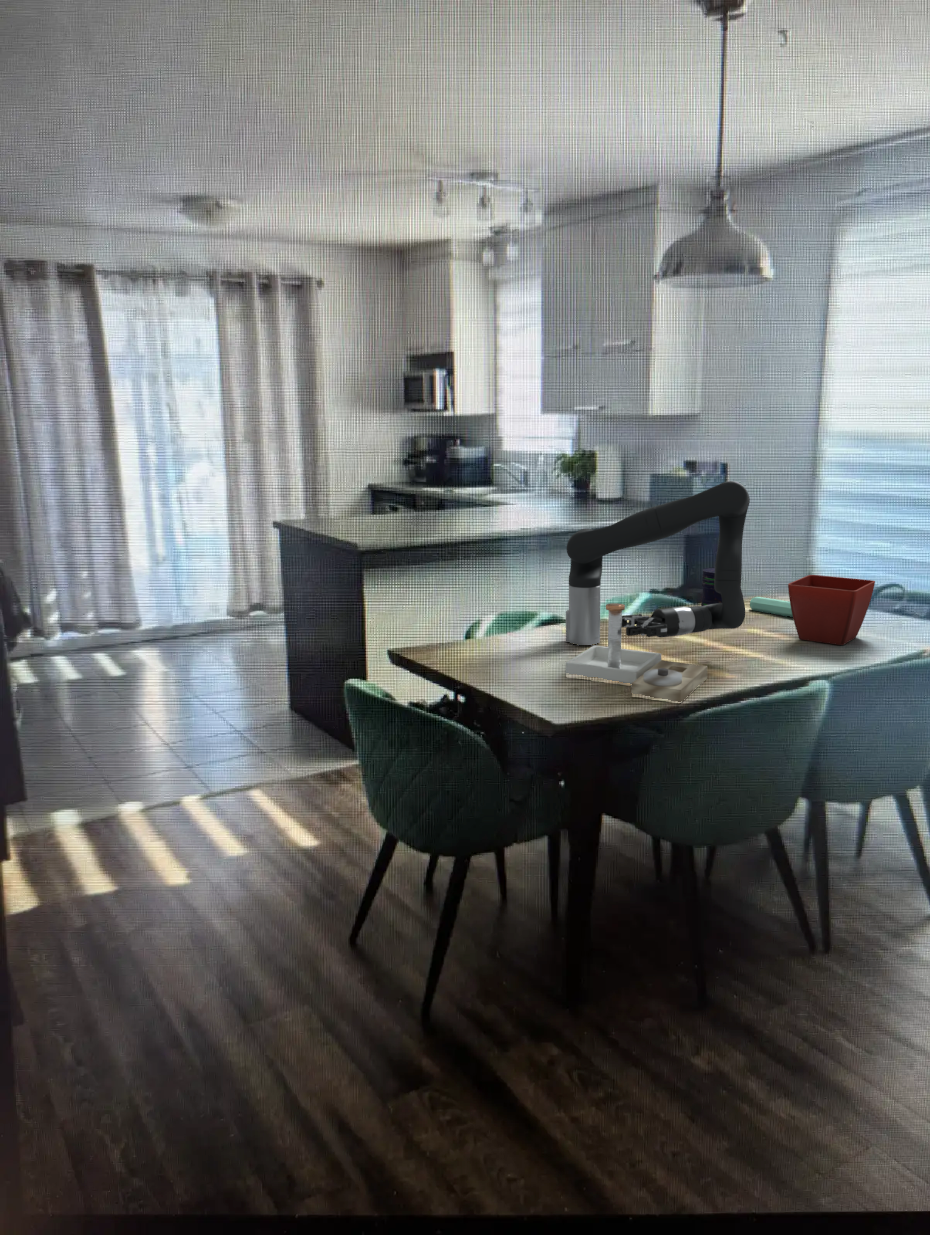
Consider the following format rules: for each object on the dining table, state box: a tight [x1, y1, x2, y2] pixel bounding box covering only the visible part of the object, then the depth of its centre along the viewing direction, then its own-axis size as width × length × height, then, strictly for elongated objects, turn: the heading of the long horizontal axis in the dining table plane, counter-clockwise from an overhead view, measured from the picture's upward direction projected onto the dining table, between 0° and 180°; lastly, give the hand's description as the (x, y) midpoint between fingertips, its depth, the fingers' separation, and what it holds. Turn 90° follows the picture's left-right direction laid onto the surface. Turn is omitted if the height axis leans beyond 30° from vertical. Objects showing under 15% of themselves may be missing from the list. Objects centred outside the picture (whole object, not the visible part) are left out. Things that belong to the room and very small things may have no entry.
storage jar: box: [700, 566, 722, 606], centre depth 298 cm, size 10×10×15 cm
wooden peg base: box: [630, 659, 708, 702], centre depth 224 cm, size 12×22×6 cm, turn 150°
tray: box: [565, 644, 662, 684], centre depth 238 cm, size 19×19×4 cm
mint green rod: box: [749, 596, 793, 618], centre depth 296 cm, size 6×6×25 cm
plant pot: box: [787, 574, 876, 646], centre depth 266 cm, size 19×19×17 cm
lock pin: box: [605, 602, 626, 669], centre depth 237 cm, size 5×5×17 cm
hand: (618, 627), depth 236 cm, fingers open, 8 cm apart
